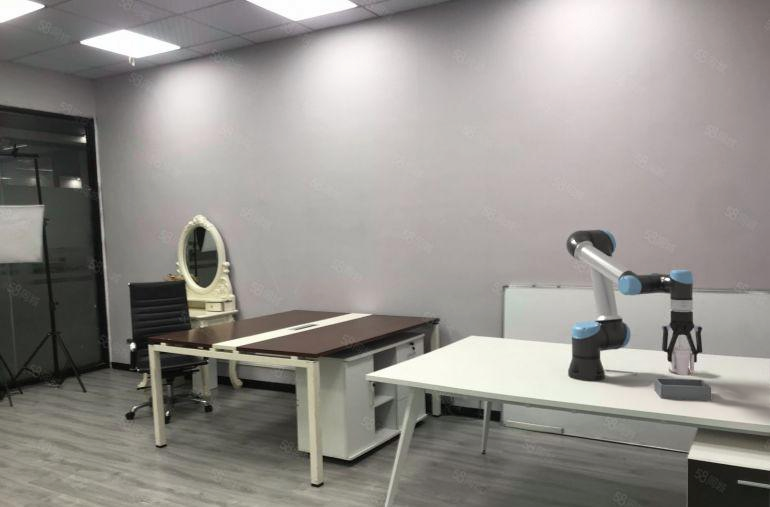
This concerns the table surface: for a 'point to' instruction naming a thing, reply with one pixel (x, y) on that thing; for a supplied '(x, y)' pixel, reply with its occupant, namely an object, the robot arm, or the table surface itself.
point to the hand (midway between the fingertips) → (682, 370)
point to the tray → (682, 389)
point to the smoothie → (682, 359)
